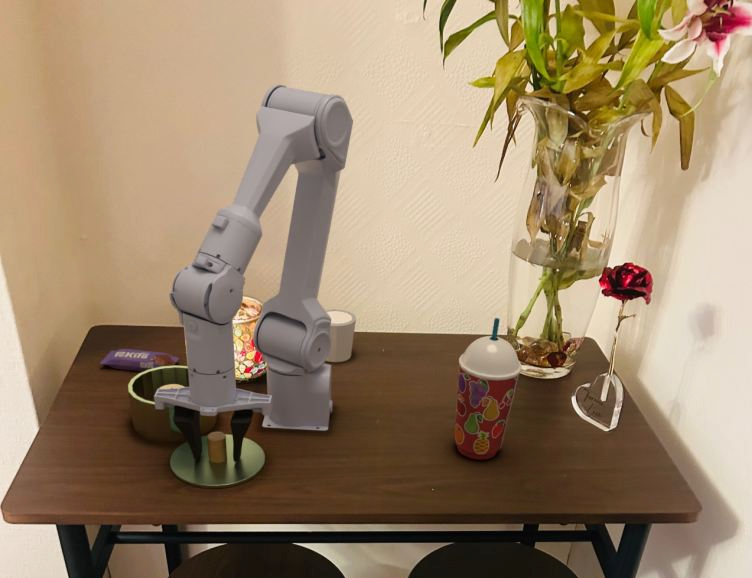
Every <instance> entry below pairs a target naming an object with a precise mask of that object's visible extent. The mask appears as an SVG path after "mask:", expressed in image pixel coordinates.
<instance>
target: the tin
mask: <svg viewBox="0 0 752 578" xmlns="http://www.w3.org/2000/svg"><path fill="white" fill-rule="evenodd" d="M169 384H178V385H182V386H184V387H189V376H188V365H174V366H162V367H157V368H153V369H149V370H146V371H144V372H142V371H141V372H139V373H138V374H136V375H135V376H133V377H132V378H131V379H130V380H129V382H128V384H127V392H128V399H129V406H130V414H131V420H132V428H133V429H134V430H135V432H136V433H137V434H138V435H139V436H141V437H143V438H145V439H147V440H151V441H155V442H159V443H160V442H161V443H179V442H187V440H186V438H185V437H184V435H183V434H182V432H181V431H180V430H179V429H178V427H177V426H176V425H175V424H174V422H173V415H174V408H172V407H165V409H163V410H160V409H155V401H154V395H155V393H156V391H157V389H159V388H160V387H162V386H165V385H169ZM217 420H218V418H217V415H215V416H203V415H201V414H200V432H201V437H202V436H205V434H208V433H209V432H210V431H211V430H212V429H213V428H214V427H215V425H216V423H217Z"/></svg>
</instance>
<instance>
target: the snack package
mask: <svg viewBox="0 0 752 578" xmlns="http://www.w3.org/2000/svg"><path fill="white" fill-rule="evenodd" d="M179 360H180V357H177V356H173V355H172V354H169V353H166V352H160V351H152V350H151V351H150V350H140V349H132V348H119V349H117V350H110V351H109V353H108V354H107V355H105V356H104V358H103V359H102V360H101V361H100V362H98V363H99V365H104V366H108V367H109V368H111V369H112V368H113V369H117V370H122V371H134V372H141V373H142V372H144V371H146V370H149V369H153V368H157V367H162V366H176V364H177V362H178V361H179Z"/></svg>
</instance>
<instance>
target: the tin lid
mask: <svg viewBox="0 0 752 578" xmlns="http://www.w3.org/2000/svg"><path fill="white" fill-rule="evenodd" d="M201 439H202V453H201V456H200V459H199V460H197V459H194V457H193V454H192V451H191V448H190V446H189V444H188V442H187V441H184V443H182V444H181V445H179V446H178V447H177V448H176V449H174V451H173V452H172V454H171V456H170V460H169V465H170V470H171V473H172V474H173V475H174V477H176V478H177V479H178V480H179V481H181V482H183V483H185V484H187V485H189V486H192V487H196V488H201V489H202V488H203V489H226V488H227V489H228V488H231V487H237V486H239V485H242V484H245V483H247V482H249V481H252V480H253V479H255V478H256V477H257V476H258V475H259V474H260V473H261V472H263V471H262V470H263V469H264V467H265V464H266V455H265V452H264V449H263V448H262V447H261V446H260V445H259V444H258V443H257V442H255V441H253V440H251V439H250V438H247V437H244V439H243V443H242V451H241V457H240V460H239V462H234V460H233V436H232V434H227V433H224V432H222V431H212V432H210V433H207V435H202V436H201Z"/></svg>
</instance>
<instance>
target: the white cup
mask: <svg viewBox="0 0 752 578" xmlns="http://www.w3.org/2000/svg"><path fill="white" fill-rule="evenodd" d="M325 311H326V312H327V313H328V315H329V316H330V318H331V325H330V339H331V348H330V352H329V355H328V358H327V360H326V361H325V362H329V363H343V362H346V361H348V360H349V359H351V356H352V351H353V343H354V336H355V330H356V321H357V317H356V316H355V314H354V313H352V312H350V311H347V310H343V309H325Z"/></svg>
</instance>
